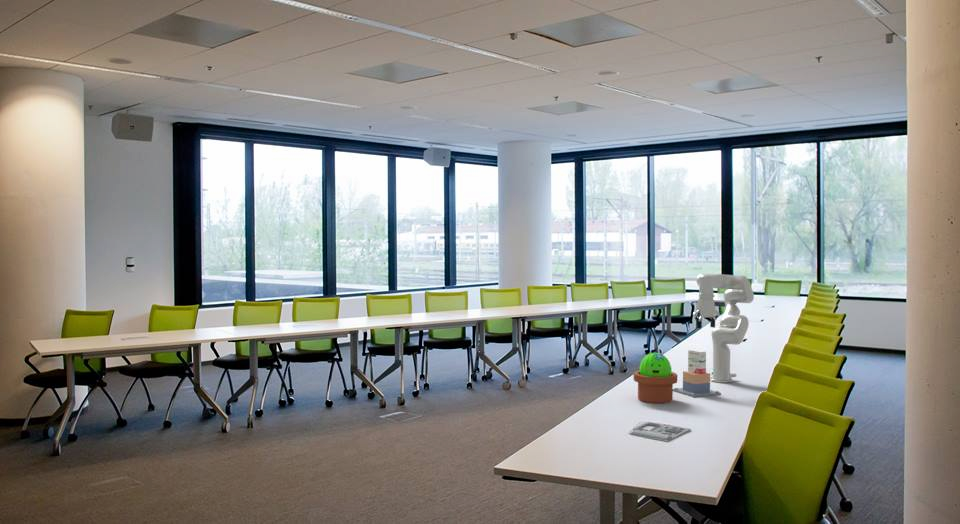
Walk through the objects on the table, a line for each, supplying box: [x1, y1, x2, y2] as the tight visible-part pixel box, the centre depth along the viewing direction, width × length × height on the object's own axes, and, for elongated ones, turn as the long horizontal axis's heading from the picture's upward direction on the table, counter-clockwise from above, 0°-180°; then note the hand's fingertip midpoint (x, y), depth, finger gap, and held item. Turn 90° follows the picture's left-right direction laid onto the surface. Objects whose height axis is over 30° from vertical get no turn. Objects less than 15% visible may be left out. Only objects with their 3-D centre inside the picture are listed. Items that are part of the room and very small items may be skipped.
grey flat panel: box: [629, 421, 692, 443], centre depth 314 cm, size 23×3×20 cm
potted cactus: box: [633, 352, 678, 404], centre depth 377 cm, size 22×22×25 cm
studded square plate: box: [673, 370, 722, 398], centre depth 394 cm, size 18×18×11 cm
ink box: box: [687, 349, 707, 374], centre depth 394 cm, size 8×5×12 cm, turn 36°
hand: (705, 327), depth 409 cm, fingers open, 9 cm apart
